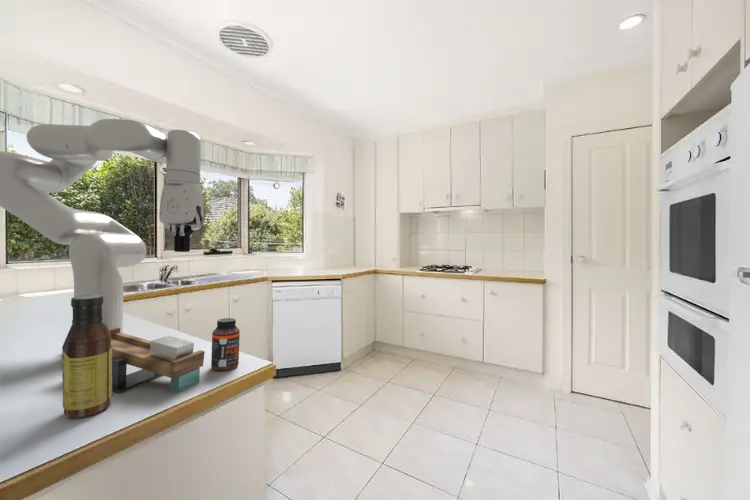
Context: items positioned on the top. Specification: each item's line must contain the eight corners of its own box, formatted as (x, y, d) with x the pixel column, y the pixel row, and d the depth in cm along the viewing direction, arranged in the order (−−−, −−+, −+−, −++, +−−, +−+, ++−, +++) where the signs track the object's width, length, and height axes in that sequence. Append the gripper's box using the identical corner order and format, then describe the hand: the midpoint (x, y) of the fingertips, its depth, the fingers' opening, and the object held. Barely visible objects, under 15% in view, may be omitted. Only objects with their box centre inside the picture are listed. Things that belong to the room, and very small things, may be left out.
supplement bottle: (227, 373, 71) (229, 323, 71) (205, 370, 72) (206, 321, 72) (244, 363, 77) (245, 317, 76) (222, 361, 78) (223, 316, 78)
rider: (148, 360, 64) (150, 340, 64) (166, 353, 68) (168, 335, 67) (175, 368, 62) (177, 348, 62) (192, 361, 66) (194, 342, 66)
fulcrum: (61, 381, 64) (61, 353, 64) (126, 360, 77) (127, 336, 77) (159, 401, 57) (159, 370, 57) (214, 374, 70) (214, 348, 70)
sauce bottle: (84, 401, 56) (86, 292, 56) (120, 401, 57) (122, 293, 57) (49, 422, 50) (51, 298, 50) (91, 421, 50) (93, 299, 50)
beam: (77, 360, 67) (79, 335, 67) (116, 349, 74) (118, 326, 74) (170, 391, 60) (173, 363, 60) (203, 376, 67) (206, 350, 67)
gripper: (147, 178, 79) (145, 251, 79) (194, 176, 75) (192, 252, 75) (173, 184, 86) (172, 250, 86) (218, 182, 82) (216, 252, 82)
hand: (182, 251), depth 80 cm, fingers closed
